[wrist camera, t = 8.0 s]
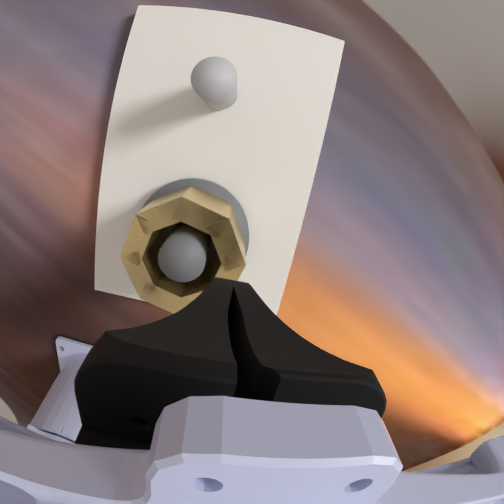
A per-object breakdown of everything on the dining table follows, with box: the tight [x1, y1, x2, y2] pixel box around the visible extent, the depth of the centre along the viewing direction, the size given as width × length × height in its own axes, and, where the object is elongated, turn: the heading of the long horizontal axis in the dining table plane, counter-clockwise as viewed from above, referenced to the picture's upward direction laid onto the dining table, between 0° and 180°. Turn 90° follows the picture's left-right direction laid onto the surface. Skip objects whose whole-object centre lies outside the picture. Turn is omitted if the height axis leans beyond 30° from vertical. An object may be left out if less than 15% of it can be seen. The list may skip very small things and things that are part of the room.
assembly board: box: [95, 5, 345, 315], centre depth 15 cm, size 18×12×6 cm, turn 168°
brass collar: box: [120, 185, 246, 313], centre depth 16 cm, size 5×5×4 cm
